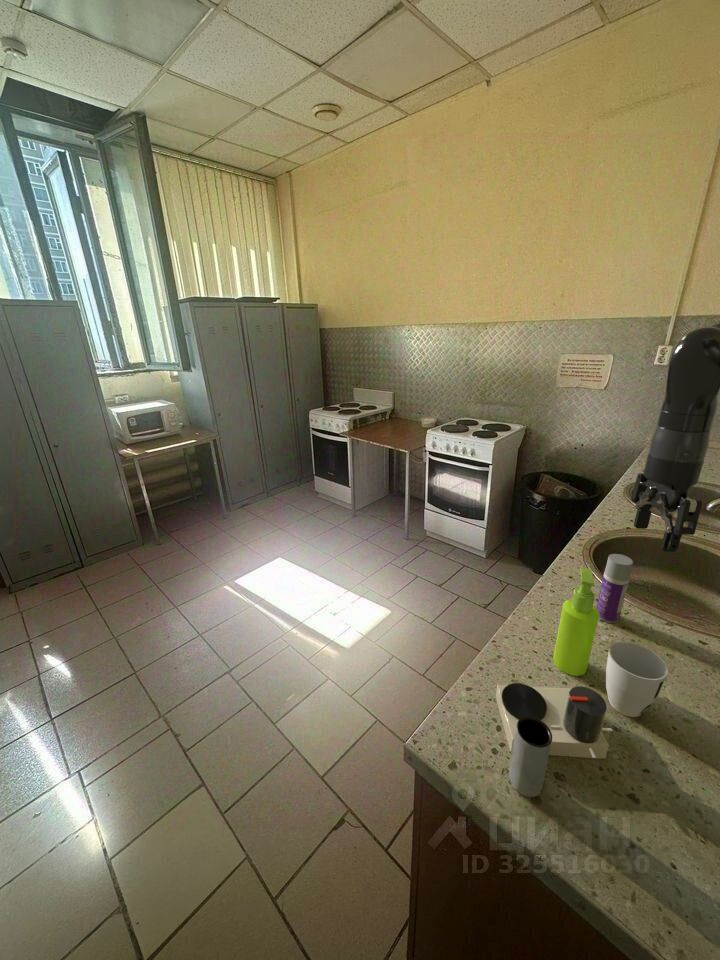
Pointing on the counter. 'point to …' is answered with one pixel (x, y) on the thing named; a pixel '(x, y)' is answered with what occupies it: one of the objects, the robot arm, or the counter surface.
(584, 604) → the soap dispenser
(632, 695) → the cup
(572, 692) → the knob
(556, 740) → the hob
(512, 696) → the hotplate
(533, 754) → the planter
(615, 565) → the container
